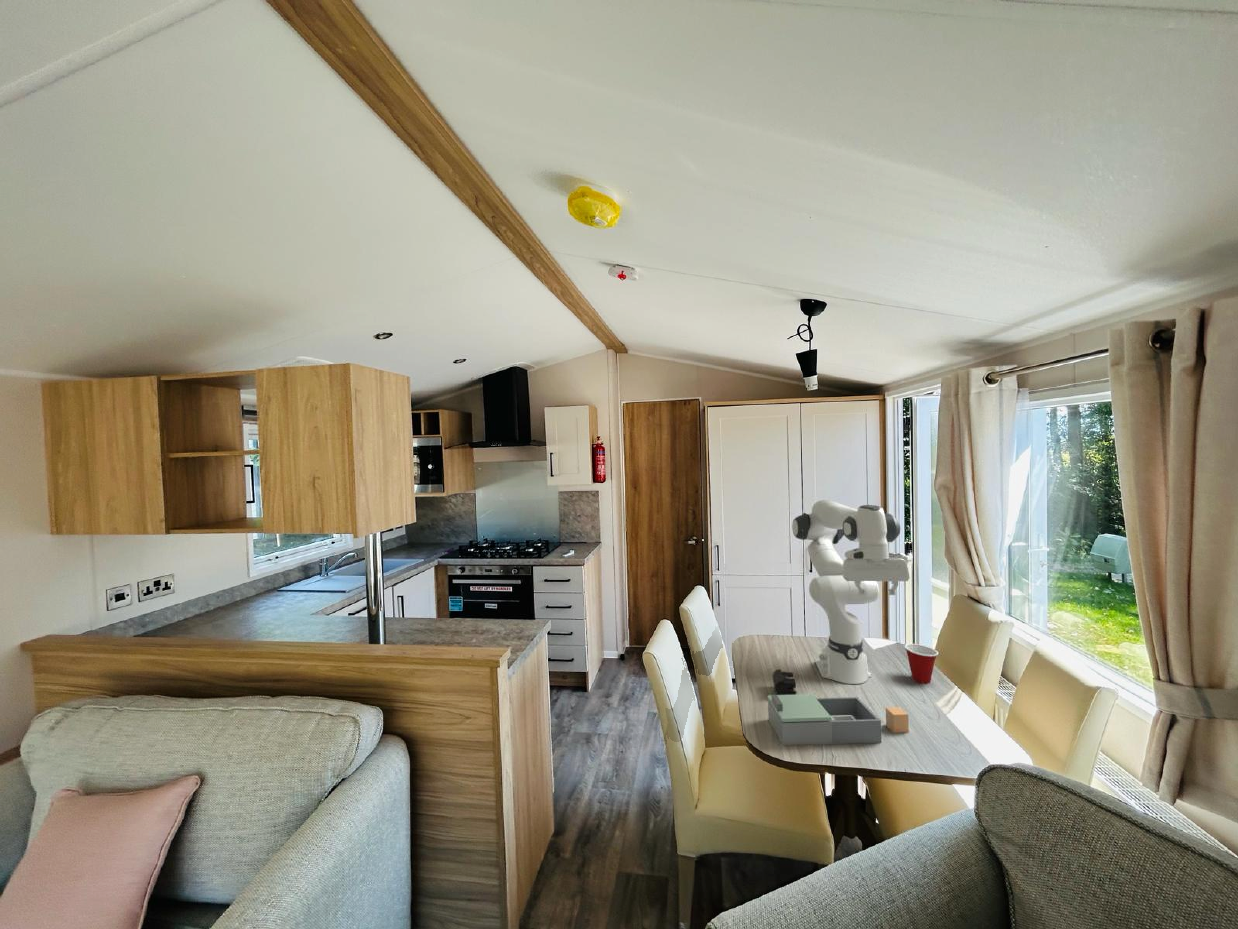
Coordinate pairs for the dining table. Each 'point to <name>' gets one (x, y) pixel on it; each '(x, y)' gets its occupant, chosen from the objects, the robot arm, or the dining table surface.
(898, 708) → the jaw block
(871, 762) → the dining table surface
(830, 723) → the box
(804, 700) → the lid
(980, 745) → the dining table surface
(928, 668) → the plastic cup
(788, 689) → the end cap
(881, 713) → the dining table surface
